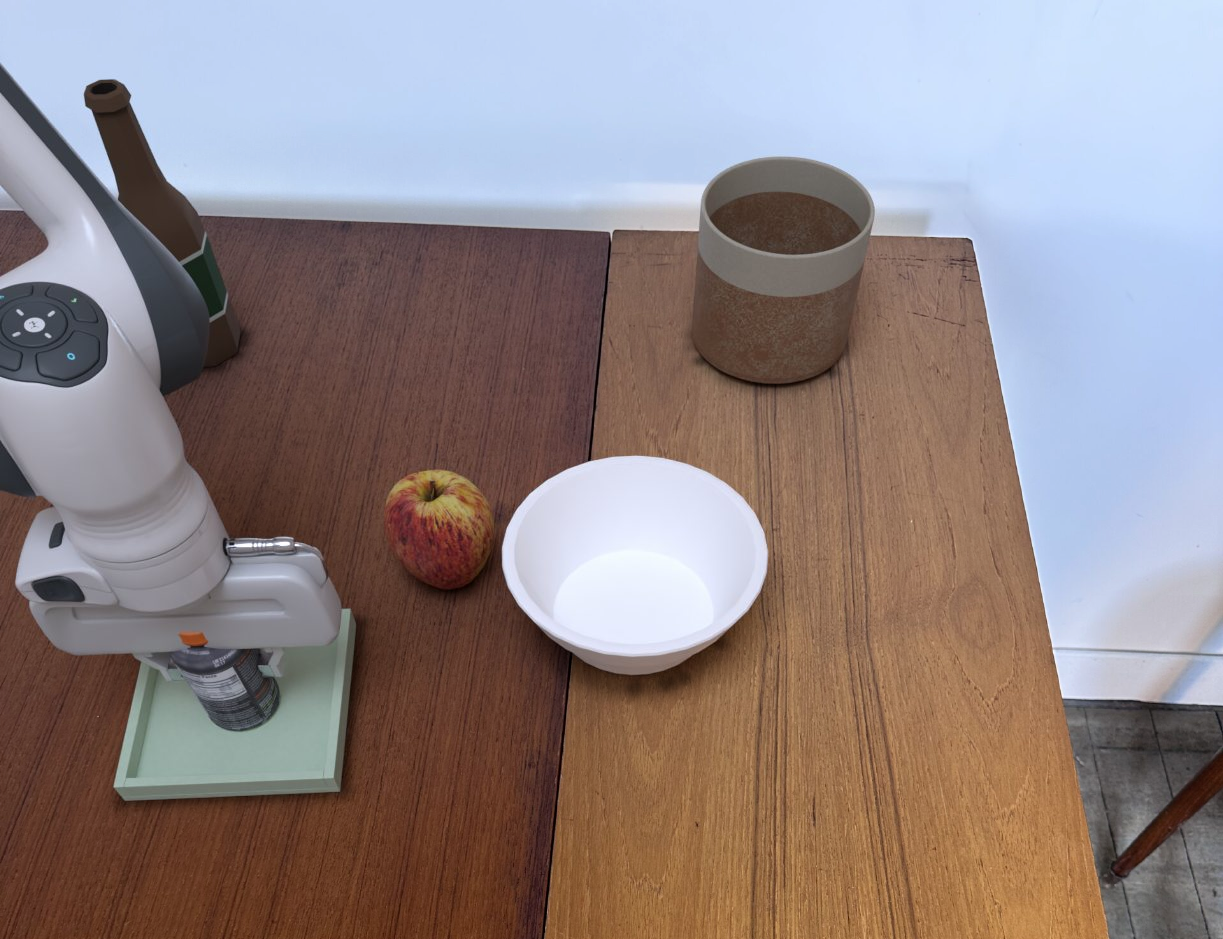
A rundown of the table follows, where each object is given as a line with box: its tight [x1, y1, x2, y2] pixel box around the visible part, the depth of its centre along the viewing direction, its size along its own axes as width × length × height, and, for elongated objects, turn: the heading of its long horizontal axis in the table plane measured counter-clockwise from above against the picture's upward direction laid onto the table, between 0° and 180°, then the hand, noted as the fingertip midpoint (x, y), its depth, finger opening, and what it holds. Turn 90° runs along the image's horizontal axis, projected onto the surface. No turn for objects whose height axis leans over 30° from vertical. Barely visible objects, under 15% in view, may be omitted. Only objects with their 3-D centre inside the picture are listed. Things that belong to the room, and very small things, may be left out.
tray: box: [113, 608, 357, 802], centre depth 81 cm, size 17×17×2 cm
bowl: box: [501, 455, 769, 676], centre depth 83 cm, size 21×21×8 cm
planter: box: [691, 156, 876, 385], centre depth 98 cm, size 16×16×14 cm
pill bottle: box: [169, 632, 281, 731], centre depth 77 cm, size 6×6×11 cm
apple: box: [383, 469, 496, 591], centre depth 85 cm, size 9×9×10 cm
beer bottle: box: [83, 78, 242, 368], centre depth 94 cm, size 8×8×24 cm
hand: (227, 672), depth 78 cm, fingers closed on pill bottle, 6 cm apart
